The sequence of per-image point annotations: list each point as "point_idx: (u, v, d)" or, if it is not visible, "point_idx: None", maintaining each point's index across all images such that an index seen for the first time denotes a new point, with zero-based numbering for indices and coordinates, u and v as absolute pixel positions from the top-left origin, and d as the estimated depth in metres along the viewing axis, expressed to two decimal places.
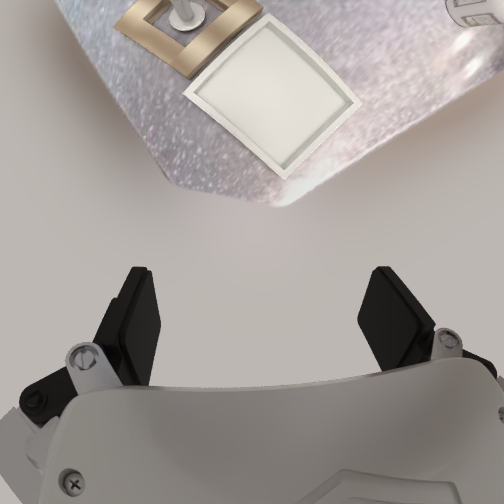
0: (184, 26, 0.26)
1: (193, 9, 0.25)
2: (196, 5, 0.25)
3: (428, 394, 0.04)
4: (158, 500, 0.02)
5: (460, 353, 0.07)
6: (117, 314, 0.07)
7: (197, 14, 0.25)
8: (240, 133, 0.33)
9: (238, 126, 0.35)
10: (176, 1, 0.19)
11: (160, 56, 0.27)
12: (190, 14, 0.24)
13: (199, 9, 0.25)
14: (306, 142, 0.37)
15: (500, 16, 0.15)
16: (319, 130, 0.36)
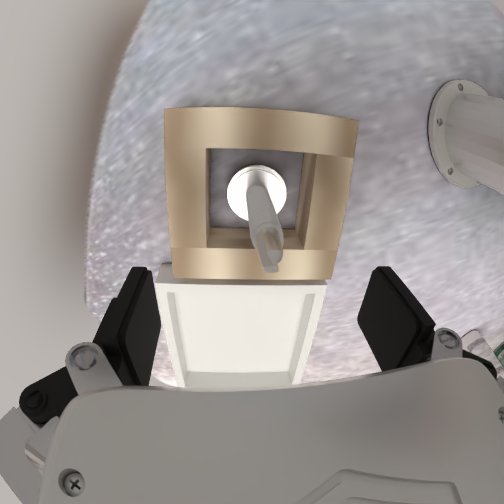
0: (238, 208, 0.23)
1: (272, 196, 0.22)
2: (282, 194, 0.22)
3: (428, 394, 0.04)
4: (158, 500, 0.02)
5: (460, 353, 0.07)
6: (117, 314, 0.07)
7: None
8: (175, 350, 0.29)
9: (181, 329, 0.31)
10: None
11: (171, 227, 0.21)
12: None
13: (277, 204, 0.23)
14: (224, 376, 0.35)
15: None
16: (243, 377, 0.35)
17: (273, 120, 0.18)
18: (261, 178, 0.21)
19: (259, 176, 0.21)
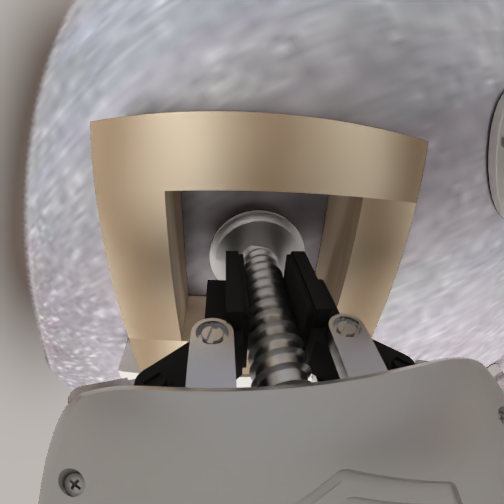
0: None
1: (283, 261, 0.14)
2: None
3: (428, 394, 0.04)
4: (158, 500, 0.02)
5: (367, 335, 0.08)
6: (234, 290, 0.09)
7: None
8: None
9: None
10: None
11: (124, 314, 0.13)
12: None
13: None
14: None
15: None
16: None
17: (290, 136, 0.10)
18: (265, 234, 0.13)
19: (261, 231, 0.13)
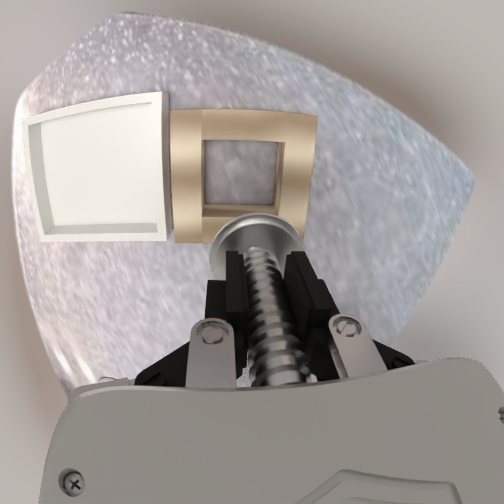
0: None
1: (283, 263, 0.14)
2: None
3: (428, 394, 0.04)
4: (158, 500, 0.02)
5: (367, 335, 0.08)
6: (234, 291, 0.09)
7: None
8: (79, 110, 0.22)
9: (94, 112, 0.24)
10: None
11: (220, 111, 0.23)
12: None
13: None
14: (40, 163, 0.25)
15: None
16: (42, 183, 0.26)
17: (302, 188, 0.28)
18: (265, 236, 0.13)
19: (261, 233, 0.13)
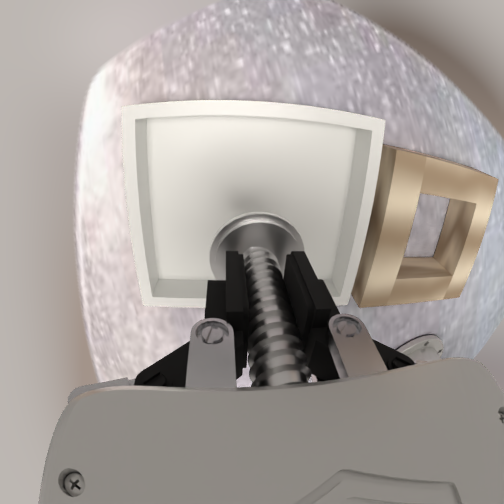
0: None
1: (283, 263, 0.14)
2: None
3: (428, 394, 0.04)
4: (158, 500, 0.02)
5: (367, 335, 0.08)
6: (234, 290, 0.09)
7: None
8: (253, 112, 0.16)
9: (259, 119, 0.19)
10: None
11: (441, 163, 0.17)
12: None
13: None
14: (146, 185, 0.20)
15: None
16: (148, 217, 0.21)
17: (475, 247, 0.22)
18: (265, 235, 0.13)
19: (261, 232, 0.13)
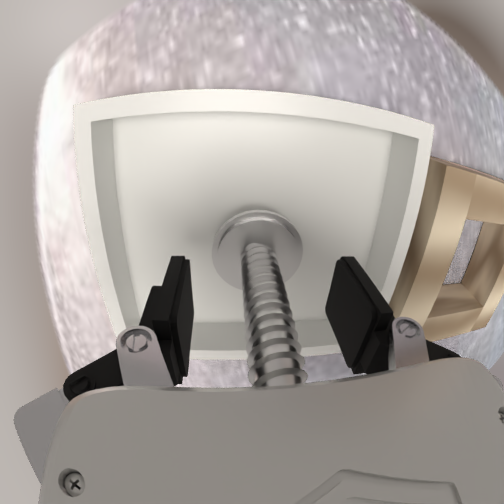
0: (228, 276, 0.15)
1: (282, 259, 0.15)
2: (296, 255, 0.15)
3: (428, 394, 0.04)
4: (158, 500, 0.02)
5: (423, 340, 0.07)
6: (166, 298, 0.08)
7: None
8: (260, 107, 0.11)
9: (266, 117, 0.13)
10: None
11: (490, 181, 0.12)
12: None
13: (289, 269, 0.15)
14: (114, 209, 0.14)
15: None
16: (120, 251, 0.15)
17: None
18: (265, 233, 0.14)
19: (261, 230, 0.14)
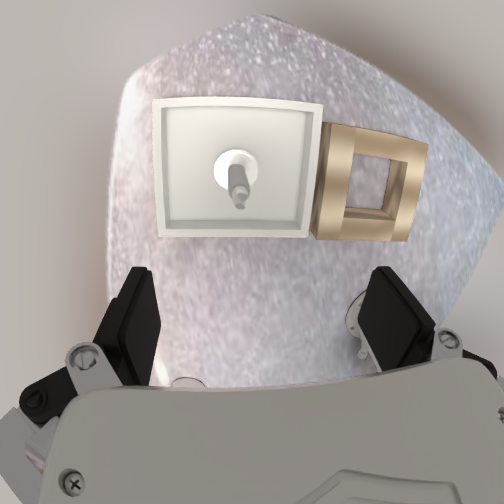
0: (222, 181, 0.30)
1: (247, 172, 0.30)
2: (254, 170, 0.30)
3: (428, 394, 0.04)
4: (158, 500, 0.02)
5: (460, 353, 0.07)
6: (117, 314, 0.07)
7: None
8: (235, 103, 0.26)
9: (240, 108, 0.28)
10: None
11: (369, 131, 0.27)
12: None
13: (251, 177, 0.30)
14: (165, 151, 0.29)
15: None
16: (165, 173, 0.30)
17: (413, 198, 0.32)
18: (239, 158, 0.29)
19: (237, 157, 0.29)
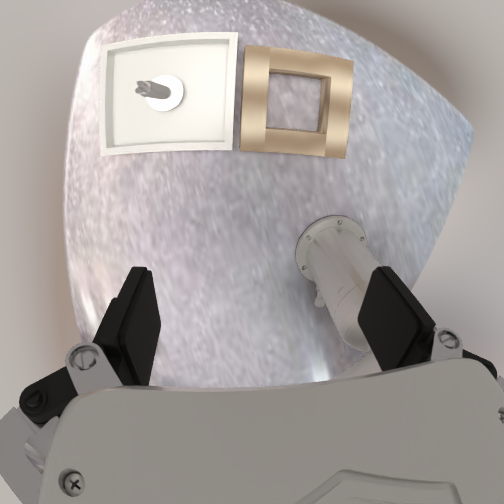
0: (152, 101, 0.30)
1: (173, 92, 0.29)
2: (179, 90, 0.29)
3: (428, 394, 0.04)
4: (158, 500, 0.02)
5: (460, 353, 0.07)
6: (117, 314, 0.07)
7: (170, 100, 0.30)
8: (163, 40, 0.25)
9: (171, 47, 0.28)
10: (142, 93, 0.23)
11: (284, 49, 0.27)
12: (162, 98, 0.29)
13: (177, 97, 0.30)
14: (111, 86, 0.29)
15: None
16: (110, 103, 0.30)
17: (344, 112, 0.31)
18: (165, 82, 0.29)
19: (164, 81, 0.29)
